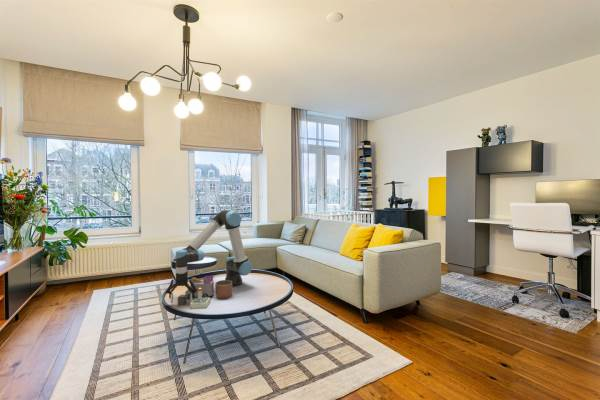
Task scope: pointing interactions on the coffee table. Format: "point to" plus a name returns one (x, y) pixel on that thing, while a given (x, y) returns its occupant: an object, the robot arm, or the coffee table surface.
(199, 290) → the pin
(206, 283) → the toy vehicle
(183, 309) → the coffee table surface
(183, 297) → the chock
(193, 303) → the tray
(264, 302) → the coffee table surface
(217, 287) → the planter
